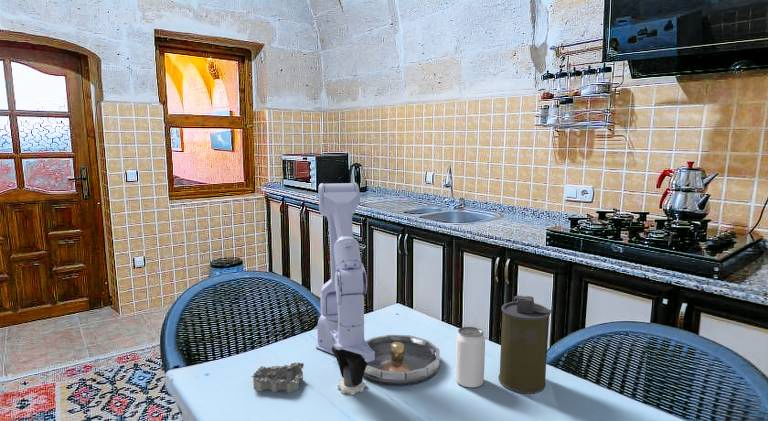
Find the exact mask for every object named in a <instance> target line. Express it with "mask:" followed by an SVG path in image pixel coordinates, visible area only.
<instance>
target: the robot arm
mask: <svg viewBox="0 0 768 421" xmlns="http://www.w3.org/2000/svg"><path fill="white" fill-rule="evenodd" d="M317 197H318V210H319V212H320V214H319V215H320V216H323V217H325V218H326V220H327V222H328V227H329V228H328V229H329V231H328V232H329V234H328V235H329V254H330V255H329V260H330V279H329V280H328V281H326V282H325V283H324V284H323V285H322V286H321V288H320V300H319V301H320V313H321V315H320V316H319V318H318V321H317V328H316V329H317V344H316V345H315V348H316V349H318V350H321V351H323V352H326V353H329V354H332V355H334V356H335V359H336V361H337V364H338V368H339V371H340V375H341V378H344V372H343V368H344V367H345V366H346V365H349V367H350V372H351V381H352V385H354V386H355V385H358V384H360V383H362V380H363V379H364V377H363V375H364V372H365V369H366V366H367V364H368V362H370V361H373V360H375V351H373V350H372V349H371V348H370V347H369V345H368V344H367V342H366V341H367V340H366V339H365V295H367V289H368V277H367V276H368V275H367V272H366V270H365V266H364V263H363V262H362V258H361V251H360V250H361V249H360V243H359V240H357V239H355V238H354V237H353V236H354V235H353V232H354V231H353V215H355V213H356V211H357V209H358V207H359V205H360V197H361V196H360V187H359V185H358V183H357V182H349V183H347V182H345V183H344V182H343V183H342V182H341V183H339V182H338V183H335V182H333V183H323V182H321V183H319V185H318V195H317Z"/></svg>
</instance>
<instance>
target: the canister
mask: <svg viewBox="0 0 768 421" xmlns="http://www.w3.org/2000/svg"><path fill="white" fill-rule="evenodd" d="M534 300H535V299H534V296H531V295H527V296H524V295H515V296H513V301H510V302H507V303H503V304H502V305H501V308H500V309H501V312H502V313H501V332H500V333H501V336H500V357H499V358H500V359H499V360H500V361H499V374H498V381H499V384H501V385H502V386H503V387H504V388H506V389H507V390H509V391H513V392H515V393H518V394H520V393H521V394H527V395H528V394H529V395H530V394H531V395H533V394H538V393H541V392H543V391H544V390H545V389H546V387H547V383H546V377H547V376H546V372H547V359H548V358H547V357H548V343H549V342H550V345H549V346H550V347H551V342H552V341H549V327H550V326H549V325H550V323H549V322H550V315H551V314H553V310H552V309H549V308H548V307H546V306H543V305H542V304H539V303H535V301H534ZM552 325H553V324H551V328H550V329H551V330H552ZM548 341H549V342H548ZM550 359H551V358H549V361H550Z"/></svg>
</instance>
